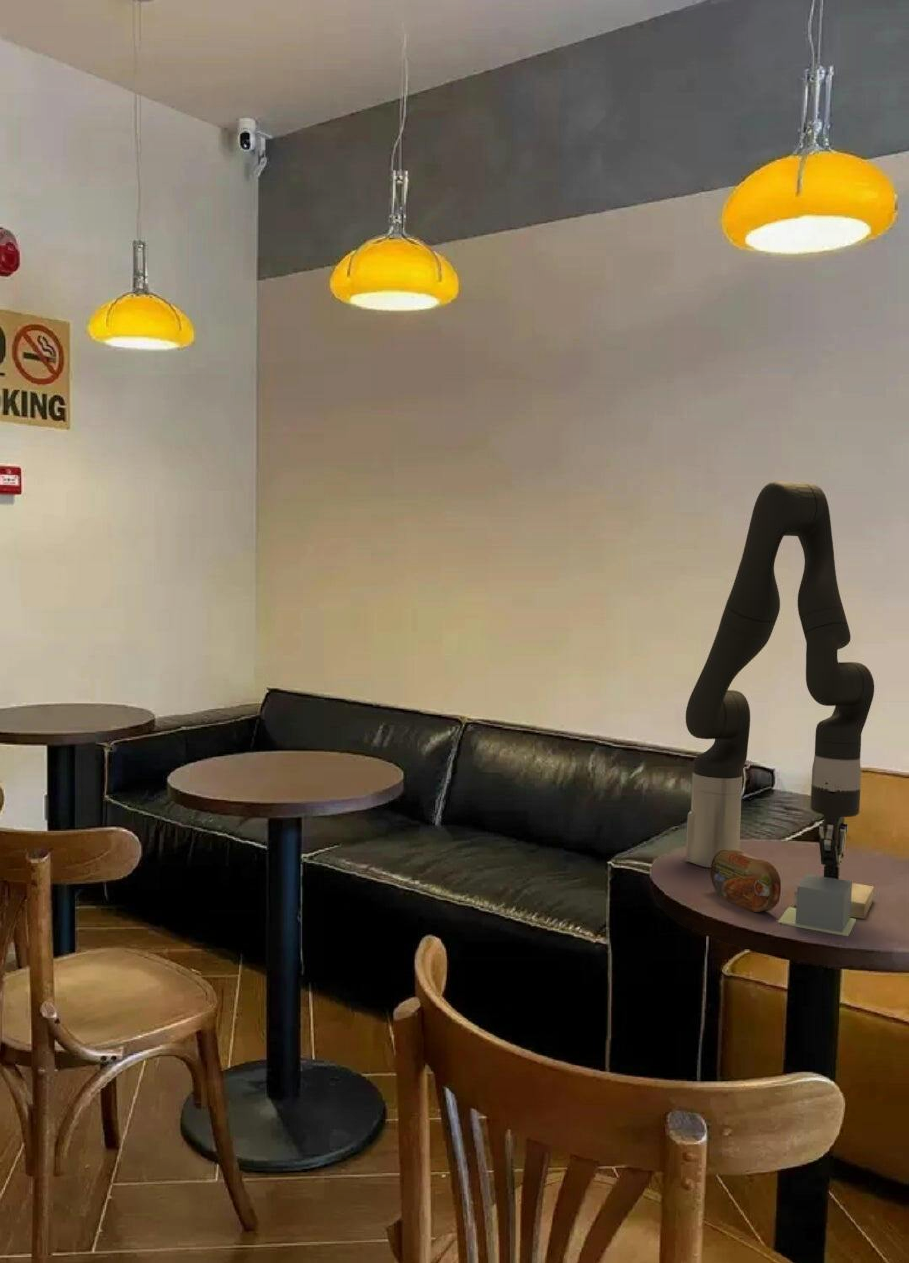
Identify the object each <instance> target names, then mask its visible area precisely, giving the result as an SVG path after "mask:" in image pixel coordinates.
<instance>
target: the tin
mask: <svg viewBox="0 0 909 1263" xmlns="http://www.w3.org/2000/svg"><path fill="white" fill-rule="evenodd" d="M709 869H710V880H711V884H712V887H713V888H714V890H715V892H716V894H717V895H718V896H719V897H720V898H721V897H722V898H721V899H723V900H725V901H727V902H730V901H731V902H730V903H733V904H735V905H737V906H739V907H742V908H743V909H746V910H748V911H751V912H754V913H759V912H766V911H771V910H773V909H774V908H775V907H777V905H778V904H779V901H780V898H781V889H782V886H781V884H782V881H781V876H780V874H779V872H778V870H777V869H776V867H775V866H774V865H773V864H772V863H770V862H769V861H767V860H764V859H761V858H758V857H756V856H753V855H751V854H748V853H745V852H742V851H740V850H739V851H736V850H721V851H719V852H718V853H716V855H715V856H714V858H713V860H712V863H711V868H709Z"/></svg>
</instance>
